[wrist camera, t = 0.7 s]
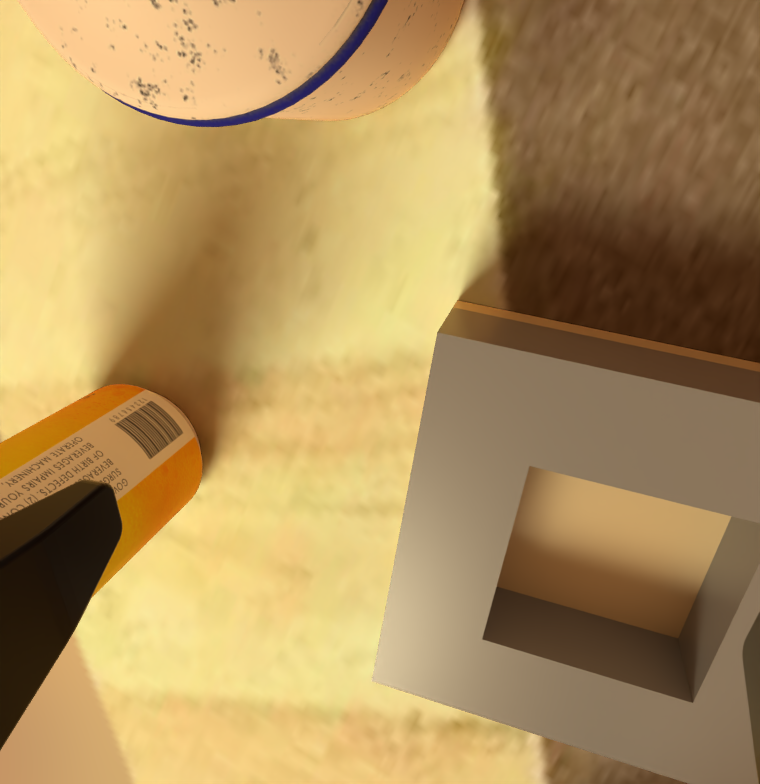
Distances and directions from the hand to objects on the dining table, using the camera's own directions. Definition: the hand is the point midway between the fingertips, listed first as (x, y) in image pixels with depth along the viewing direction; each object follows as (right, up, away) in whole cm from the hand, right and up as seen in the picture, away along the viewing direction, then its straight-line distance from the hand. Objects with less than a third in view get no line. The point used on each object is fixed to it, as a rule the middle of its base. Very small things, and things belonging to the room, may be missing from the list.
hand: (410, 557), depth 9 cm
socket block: (+8, -2, +15) cm, 17 cm away
